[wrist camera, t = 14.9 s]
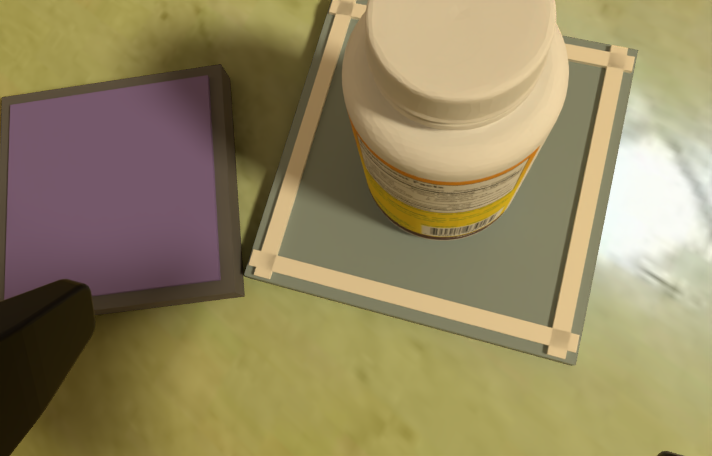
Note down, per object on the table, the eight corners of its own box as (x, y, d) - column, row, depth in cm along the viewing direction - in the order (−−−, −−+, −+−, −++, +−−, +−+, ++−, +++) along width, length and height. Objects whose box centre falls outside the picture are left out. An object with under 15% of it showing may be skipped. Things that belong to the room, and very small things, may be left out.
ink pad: (244, 296, 23) (233, 291, 21) (15, 325, 23) (-10, 322, 22) (230, 78, 25) (219, 61, 23) (20, 110, 25) (-2, 95, 24)
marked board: (571, 365, 21) (577, 365, 20) (248, 277, 23) (242, 274, 22) (632, 58, 23) (639, 47, 22) (335, 1, 25) (333, -11, 24)
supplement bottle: (428, 75, 23) (439, -147, 13) (548, 160, 22) (657, -16, 12) (335, 183, 23) (272, 35, 13) (453, 277, 21) (485, 193, 11)
